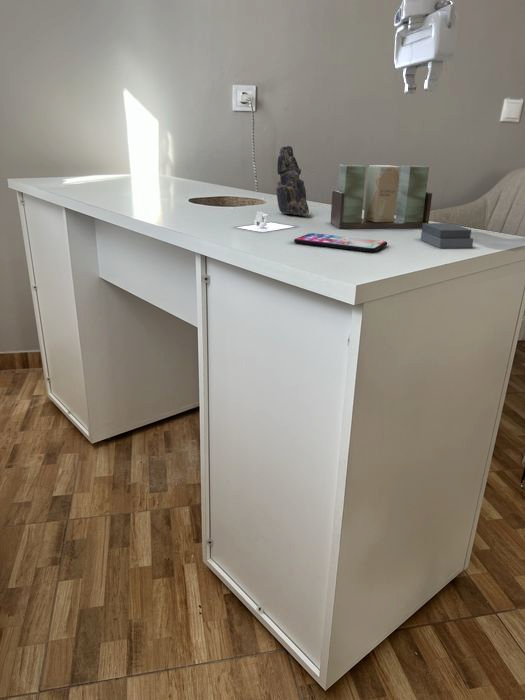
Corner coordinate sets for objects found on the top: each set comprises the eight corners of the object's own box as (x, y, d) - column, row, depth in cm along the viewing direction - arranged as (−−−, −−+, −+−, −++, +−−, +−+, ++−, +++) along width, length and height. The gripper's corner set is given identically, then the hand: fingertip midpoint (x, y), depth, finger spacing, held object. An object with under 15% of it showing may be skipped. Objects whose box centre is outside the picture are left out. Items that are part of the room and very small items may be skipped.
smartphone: (374, 249, 90) (291, 239, 97) (374, 253, 90) (291, 243, 97) (389, 241, 96) (310, 232, 103) (388, 244, 96) (310, 236, 103)
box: (374, 223, 114) (379, 166, 110) (362, 220, 117) (367, 164, 113) (395, 221, 116) (401, 165, 112) (382, 218, 119) (388, 164, 115)
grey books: (451, 239, 103) (453, 223, 102) (472, 247, 96) (474, 230, 95) (420, 239, 103) (422, 223, 101) (439, 248, 95) (441, 230, 94)
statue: (295, 218, 124) (298, 147, 119) (270, 211, 134) (271, 145, 129) (316, 217, 127) (320, 147, 121) (290, 210, 137) (292, 145, 131)
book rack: (414, 222, 122) (421, 165, 117) (428, 228, 115) (435, 167, 111) (330, 223, 119) (334, 164, 114) (339, 228, 112) (343, 166, 108)
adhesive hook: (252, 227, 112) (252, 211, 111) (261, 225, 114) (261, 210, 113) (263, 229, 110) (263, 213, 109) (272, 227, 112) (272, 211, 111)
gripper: (472, -4, 91) (461, 88, 96) (421, 19, 110) (414, 95, 115) (436, -6, 90) (426, 88, 95) (391, 18, 109) (385, 95, 114)
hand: (419, 92), depth 105 cm, fingers open, 8 cm apart
